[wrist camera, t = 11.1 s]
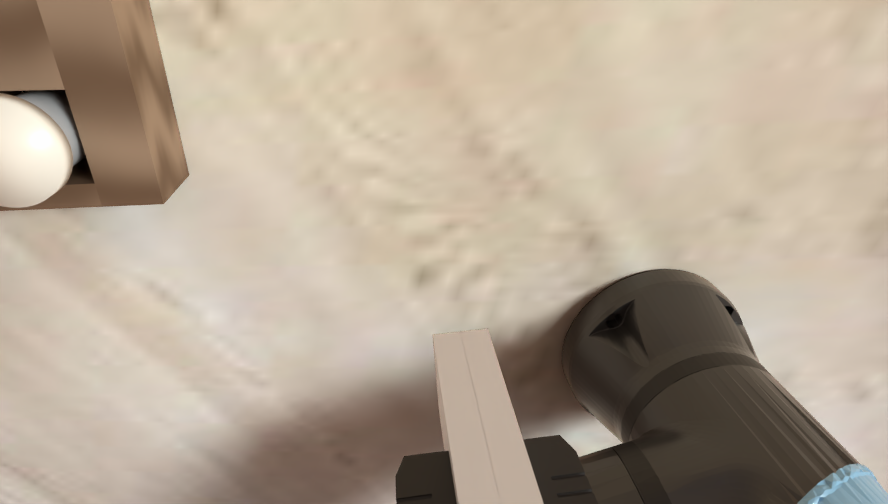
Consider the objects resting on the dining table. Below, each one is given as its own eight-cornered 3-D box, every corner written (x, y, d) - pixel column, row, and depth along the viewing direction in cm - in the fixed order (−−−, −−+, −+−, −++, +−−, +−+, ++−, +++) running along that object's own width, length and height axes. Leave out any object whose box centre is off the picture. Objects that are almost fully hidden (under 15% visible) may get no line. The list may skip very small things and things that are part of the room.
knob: (129, 162, 34) (76, 205, 28) (35, 165, 34) (-40, 210, 28) (103, 71, 32) (39, 96, 26) (1, 73, 31) (-90, 99, 25)
